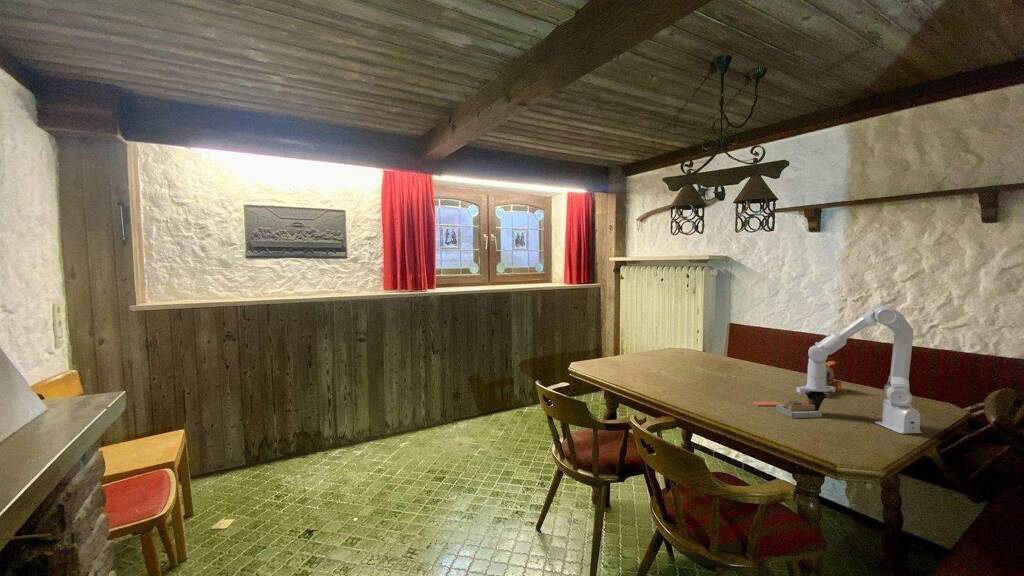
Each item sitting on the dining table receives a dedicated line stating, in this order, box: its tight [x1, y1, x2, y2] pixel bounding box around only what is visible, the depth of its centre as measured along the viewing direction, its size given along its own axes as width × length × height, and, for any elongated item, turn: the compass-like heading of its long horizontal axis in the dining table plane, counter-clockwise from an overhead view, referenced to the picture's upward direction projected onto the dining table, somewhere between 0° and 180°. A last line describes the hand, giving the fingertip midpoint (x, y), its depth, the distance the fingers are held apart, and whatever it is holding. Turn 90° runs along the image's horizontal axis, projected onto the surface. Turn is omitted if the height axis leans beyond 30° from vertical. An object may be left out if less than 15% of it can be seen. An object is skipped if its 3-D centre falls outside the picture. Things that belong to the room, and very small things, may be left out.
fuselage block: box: [784, 398, 815, 412], centre depth 157 cm, size 4×9×6 cm, turn 87°
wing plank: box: [752, 401, 783, 407], centre depth 167 cm, size 10×4×1 cm, turn 89°
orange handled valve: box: [825, 360, 842, 393], centre depth 181 cm, size 8×21×14 cm, turn 122°
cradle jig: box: [775, 404, 823, 419], centre depth 157 cm, size 8×12×2 cm
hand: (814, 409), depth 158 cm, fingers closed
